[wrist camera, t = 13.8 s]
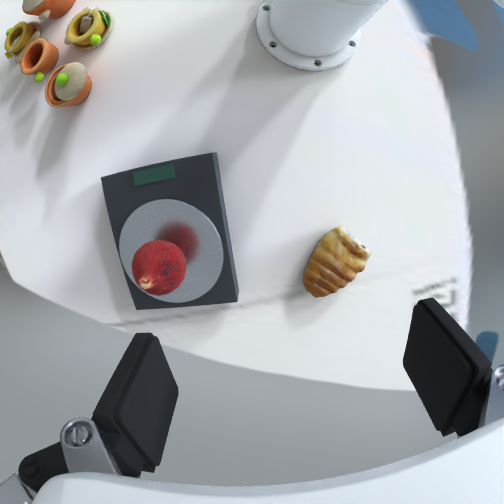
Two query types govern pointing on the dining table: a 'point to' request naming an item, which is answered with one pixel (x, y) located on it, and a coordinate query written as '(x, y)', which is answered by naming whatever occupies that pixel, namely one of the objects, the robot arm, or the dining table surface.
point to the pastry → (334, 262)
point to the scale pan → (183, 235)
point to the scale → (182, 188)
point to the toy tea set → (46, 55)
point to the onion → (159, 267)
